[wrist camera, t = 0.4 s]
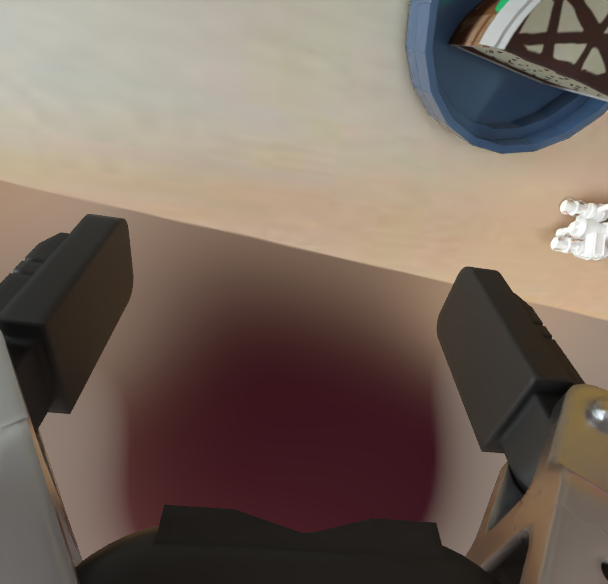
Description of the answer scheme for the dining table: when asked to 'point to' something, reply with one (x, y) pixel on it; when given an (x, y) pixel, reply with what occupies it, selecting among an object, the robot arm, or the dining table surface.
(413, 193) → the dining table surface
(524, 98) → the bowl
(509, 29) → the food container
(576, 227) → the rocket engine
